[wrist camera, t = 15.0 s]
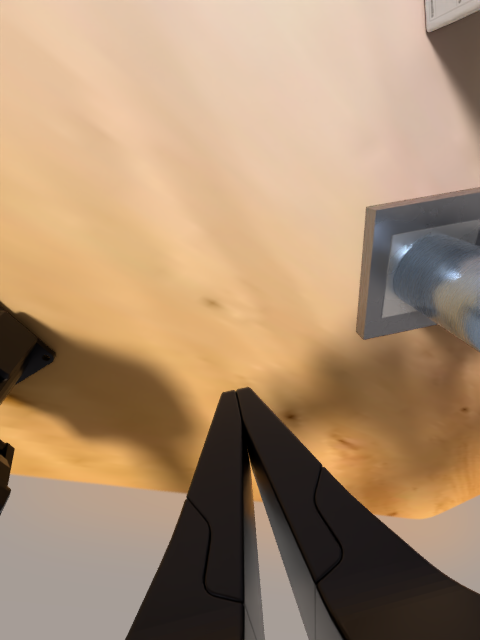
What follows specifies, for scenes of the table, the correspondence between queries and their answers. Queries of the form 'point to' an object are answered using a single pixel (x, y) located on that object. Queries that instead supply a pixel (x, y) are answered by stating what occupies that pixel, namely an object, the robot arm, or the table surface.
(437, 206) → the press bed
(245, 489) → the robot arm
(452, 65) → the table surface
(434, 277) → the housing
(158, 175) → the table surface
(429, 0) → the light bulb box
